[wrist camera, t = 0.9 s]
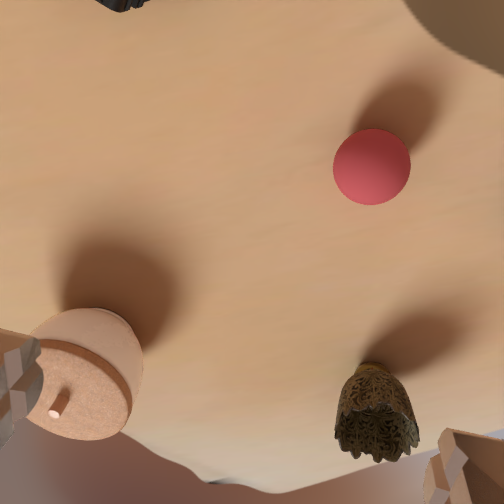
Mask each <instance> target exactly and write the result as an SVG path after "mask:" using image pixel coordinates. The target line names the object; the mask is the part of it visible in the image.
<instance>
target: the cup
mask: <svg viewBox="0 0 504 504" xmlns="http://www.w3.org/2000/svg"><path fill="white" fill-rule="evenodd" d="M334 431H335V439H338V440H339V445H340V448H341V450H342V451H343V452H348V451H350V452H351V455H352V456H353V458H354V459H358V458H359V457H360V456H361V453H360V452H364V453H365V454H366V455H368V454H372V456H373V460H374V461H375V462H377V463H380V462H381V460H382V459H383V458H384V459H385V460H387V461H391V462H396V461H397V460H398V459H399V458H400V456H401V454H402V453H403V451H404V454H405V453H406V455H410V454H411V451H410V445H411V446H412V447H414V448H417V446H418V441H419V442H420V438H419V428H418V426H417V422H416V419H415V416H414V412H413V409H412V406H411V403H410V400H409V397H408V395H407V392H406V390H405V388H404V387H403V385H402V384H401V383H400V382H399V380H397V379H396V378H395V377H394V376H392V375H391V374H390V373H389V371H388V370H387V368H386V367H385V366H383V365H382V364H379V363H376V362H367V363H364V364H362V365H360V366H359V367H358V368H357V370H356V371H355V373H354V375H353V376H352V377H350V378H349V379H348V380H347V382H346V383H345V385H344V386H343V389H342V391H341V395H340V399H339V404H338V410H337V417H336V424H335V429H334Z"/></svg>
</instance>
